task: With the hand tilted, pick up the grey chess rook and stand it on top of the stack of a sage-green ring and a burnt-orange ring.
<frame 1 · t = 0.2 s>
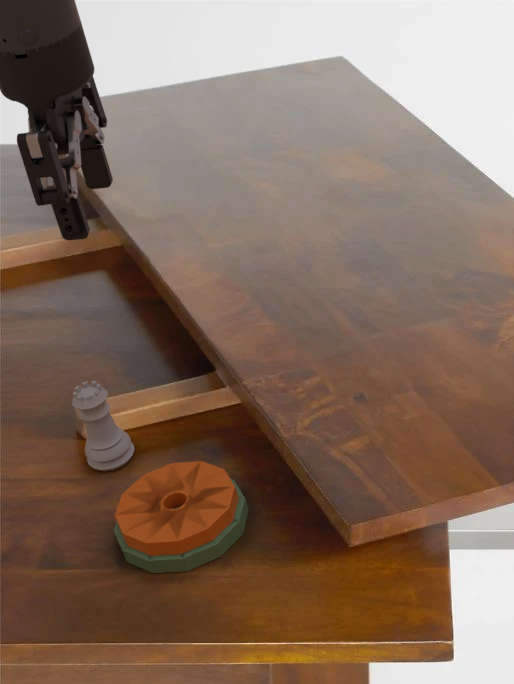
hand: (89, 211, 116), 23 cm above the table, tool pointing down, fingers open, 8 cm apart
ring stack: (183, 526, 118), on the table
grey chess rook: (112, 459, 128), on the table
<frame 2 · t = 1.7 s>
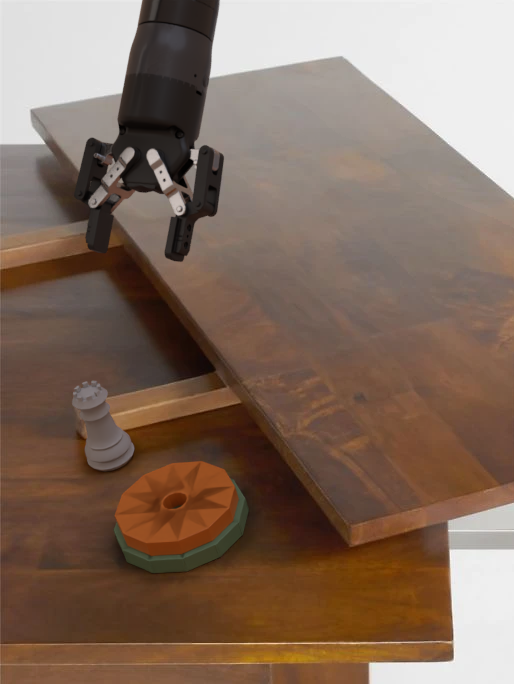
hand: (134, 255, 127), 15 cm above the table, tool tilted 45°, fingers open, 8 cm apart
nothing on the table moved.
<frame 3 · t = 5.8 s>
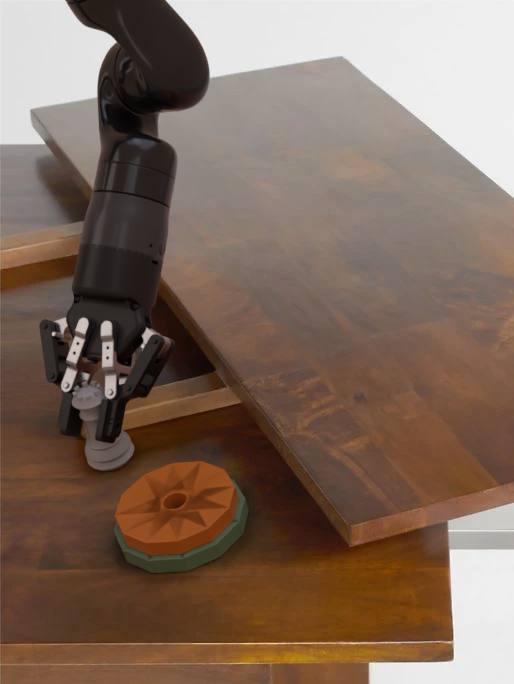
hand: (87, 438, 124), 4 cm above the table, tool tilted 45°, fingers closed on grey chess rook, 3 cm apart
grey chess rook: (112, 459, 128), on the table, touching gripper
when the fingers open (7 cm above the table, at t = 12.6 s): grey chess rook stays where it is, resting on ring stack.
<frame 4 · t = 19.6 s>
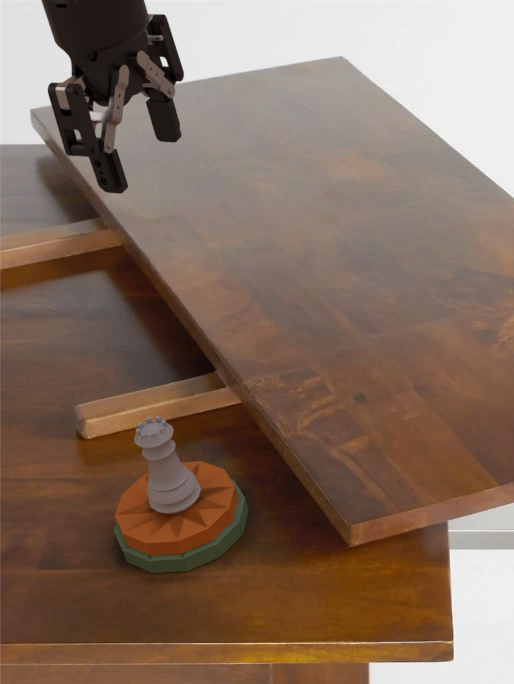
hand: (143, 165, 115), 26 cm above the table, tool pointing down, fingers open, 8 cm apart
grey chess rook: (176, 500, 117), point 3 cm above the table, touching ring stack
at the end: grey chess rook 0.2 cm off-centre on the ring stack, point 2.8 cm above the ring stack's base; grey chess rook tilted 0°; the gripper is holding nothing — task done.
